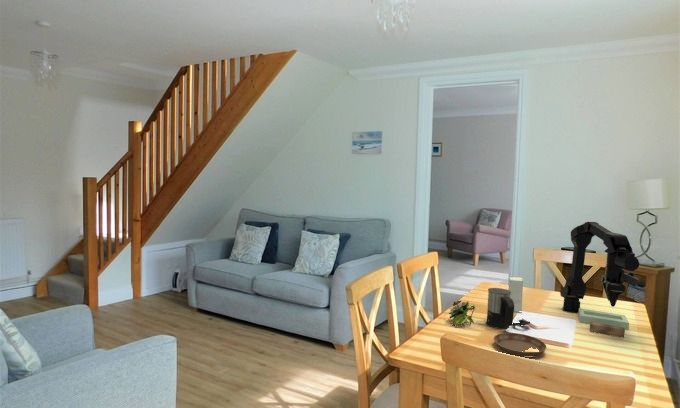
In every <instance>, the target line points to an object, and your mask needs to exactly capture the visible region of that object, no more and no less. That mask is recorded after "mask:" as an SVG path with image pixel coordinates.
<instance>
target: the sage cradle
mask: <svg viewBox="0 0 680 408" xmlns="http://www.w3.org/2000/svg"><path fill="white" fill-rule="evenodd" d="M577 315H578V320H579V323H583V324H589V325H590V322H595V323H601V324H607V325H612V326H618V327H624V329H625V331H626V330H627V331H629V327H630V322H629V320H628V319H627V317H626V315H625V314H621V313H620V314H619V313H613V312H607V311H606V312H605V311H601V310H594V309H587V308H581V307H580V308H579V312H578V313H577Z"/></svg>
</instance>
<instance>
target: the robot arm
mask: <svg viewBox="0 0 680 408" xmlns="http://www.w3.org/2000/svg"><path fill="white" fill-rule="evenodd" d="M593 237H597V238H598V239H600V240H602V241H603V242H602V243H603V245H604V246H605V247H606V249H605V250H604V253H606V263H605V265H606V266H604V267H605V268H604V269H605V274H603V275H601V279H600V280H601V284H602V286H603V287H602V288H603V290H604V292H605V295H606V296H605V297H606V298H607V301H608V302H609V304H610V307H611V308H612V307H613V308H614V307H615V306H616V304H617V301H618V299H619V297H620V295H622V294H625V292H626V286H625V284H624V283H626V284H628V285H630V286H631V287H635V288H636V287H637V285H638V283H639V281H640V279H639V278H638V277H636V276H635V274H634V273H633V272H634V271H637V270H638V269H639V267H640V261H639V259H638V258H637V256H636V253H634V251H633V247H632V246H631V244H630V241H629V238H628V237H627V236H626V235H625V234H623V233H622V234H621V233H617V232H614V231H611V230H609V229H607V228H605V226H602V225H601V224H599V222H597V221H585V222H584V223H583V224H580V225H577V226H575V227H574V228H573V229H571V231H570V242H571V243H572V245H573V252H572V258H571V260H572V261H571V267H570V275H569V277H568V278H567V279H566V281H565V283H564V286H563V288H561V290H560V291H559V293H560V297H561V298H563V303H562V304H563V306H562V311H563V312H570V313H575V314H578V312H579V308H581V301H580V300H583V299H584V297H585V295H586V292H587V291H586V290H587V289H586V288H587V283H586V282H585V281H584V278H583V276H584V267H585V260H586V258H585V257H586V250H587V247H588V246H589V245H590V244H591V243H592V239H593ZM625 270H626V271H628V272H625Z"/></svg>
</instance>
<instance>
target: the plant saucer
mask: <svg viewBox="0 0 680 408" xmlns="http://www.w3.org/2000/svg"><path fill="white" fill-rule="evenodd" d="M493 341H494V342H495V344H496V346H497V347H498V348H499V349H500V350H501V351H502V352H504V351H505V352H504V353H506V352H507V353H506V354H509V355H511V354H512V356H514V355H517V356H516V357H519V356H523V357H522V358H525V357H524V356H536V357H539V356H540V355H542V354H543V353H544V352H545V351H546V350H547V344H546V343H545V342H544V341H542V340H540V339H538V338H537V337H534V336H531V335H526V334H521V333H515V332H502V333H498V334H496V335H494V337H493ZM531 347H532V348H533V349H536V348H537V349H538V350H539V352H525V350H528V349H529V348H531ZM522 351H523V352H522ZM538 355H539V356H538Z"/></svg>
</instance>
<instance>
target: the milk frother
mask: <svg viewBox="0 0 680 408" xmlns="http://www.w3.org/2000/svg"><path fill="white" fill-rule="evenodd" d="M487 291H488V293H487V295H488V296H487V309H486V310H487V311H486V312H487V314H486V321H485V324H486V326H488V327H491V328H495V329H500V330H501V329H502V330H503V329H504V330H505V329H508V328H509V327H512V325H513V327H514V326H520V325H524V326H526V325H529V324H531V322H530V321H526V320H525V319H519V320H518V321H519V322H520V323H514V322H513V321H514V313H515V312H514V302H513V300H512V299H511V298H510V293H511V291H509V289H507V288H499V287H489V288H487ZM512 323H513V324H512Z"/></svg>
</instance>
